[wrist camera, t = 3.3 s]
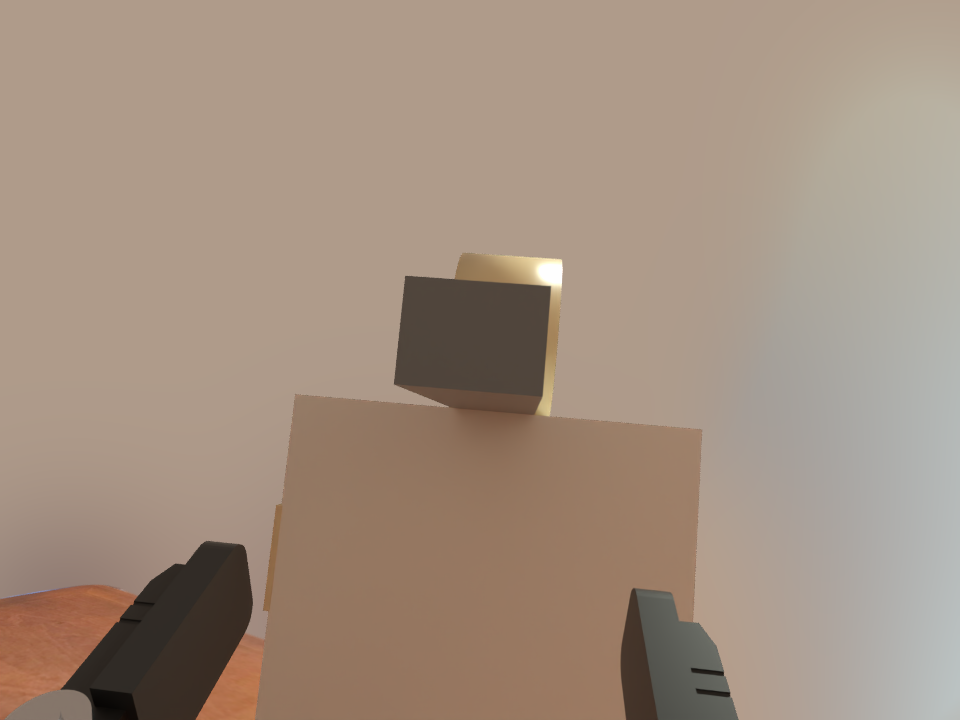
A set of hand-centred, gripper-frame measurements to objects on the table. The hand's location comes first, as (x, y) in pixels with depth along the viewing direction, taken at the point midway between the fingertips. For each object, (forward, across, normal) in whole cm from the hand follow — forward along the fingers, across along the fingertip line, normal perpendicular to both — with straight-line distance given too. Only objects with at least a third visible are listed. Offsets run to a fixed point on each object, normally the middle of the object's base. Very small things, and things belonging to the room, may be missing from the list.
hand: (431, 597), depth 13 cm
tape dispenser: (+16, 0, +4) cm, 17 cm away
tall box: (+7, 0, +36) cm, 37 cm away
